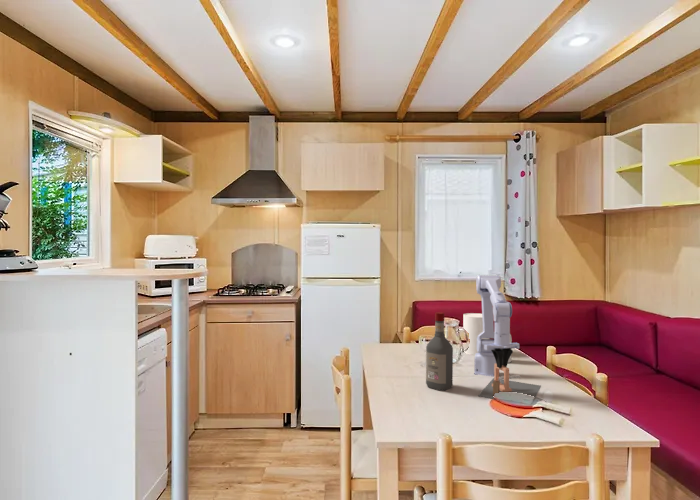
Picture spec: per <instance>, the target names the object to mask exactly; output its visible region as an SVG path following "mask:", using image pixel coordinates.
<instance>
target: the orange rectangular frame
mask: <svg viewBox="0 0 700 500" xmlns="http://www.w3.org/2000/svg"><path fill="white" fill-rule="evenodd" d="M500 371H501V372H503V376H504V379H503V380H504V384H502V383H500V391H502V392H509V391H512V389H511V388H509V381H510V379H509V376H510V368H509V367H505V366H503V365H502V368H498V367H497V364H496V363H495V364H494V377H493V378H494V380H498V378H499V377H500V373H499V372H500ZM492 386H493V383H492Z"/></svg>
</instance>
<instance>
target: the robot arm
mask: <svg viewBox="0 0 700 500" xmlns="http://www.w3.org/2000/svg"><path fill="white" fill-rule="evenodd" d="M475 282H476V283H475V285H476V294H478V295H479V296H480V301H481V314H482V320H483V332H482V333H480V334H479V335H478V336H477V351H478V353H476V354H475V356H474V367H473V368H474V373H473V374H474V375H477V376H478V375H480V376H486V377H493V378H494V364H495V363H496V364H497V367H498V368H502V365H503V366H505V367H507V366H508V364H509V363H508V360H509V358H510V356H511V354H513V353H514V351H513V349H517V350H518V349H520V343H518V342H512V343H510V334H511V328H510V327H511V317H512V315H513V306H512V304H511V302H509V301H507V299H506V296H505V295H504V293H503V292H502V291H500V288H501V286H502V279H501V276H500V275H499V274H496V275H488V274H487V275H486V274H481V275H480V274H478V275H476V281H475ZM482 338H490V339H482ZM511 349H512V350H511ZM507 368H508V367H507ZM500 372H501V371H499V374H500Z"/></svg>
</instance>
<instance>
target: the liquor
mask: <svg viewBox="0 0 700 500" xmlns="http://www.w3.org/2000/svg"><path fill="white" fill-rule="evenodd" d="M434 321H435V322H434V323H435V324H434V328H435V329H434V330H435V331H434V336H433V337H432V338H431V340H430V341H428V343H427V344H426V347H425V348H426V349H425V384H426V386H427V388H428V389H432V390H436V391H447V390H449V389H451V388H452V387H453V381H454V380H453V376H454V375H453V374H454V372H453V368H454V362H453V359H454V355H453V354H454V348H453V344H451V342H450V341H449V340H448V339H447V338H446V337H445V336H446V335H445V312H443V311H438V312H437V311H435V313H434Z"/></svg>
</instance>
